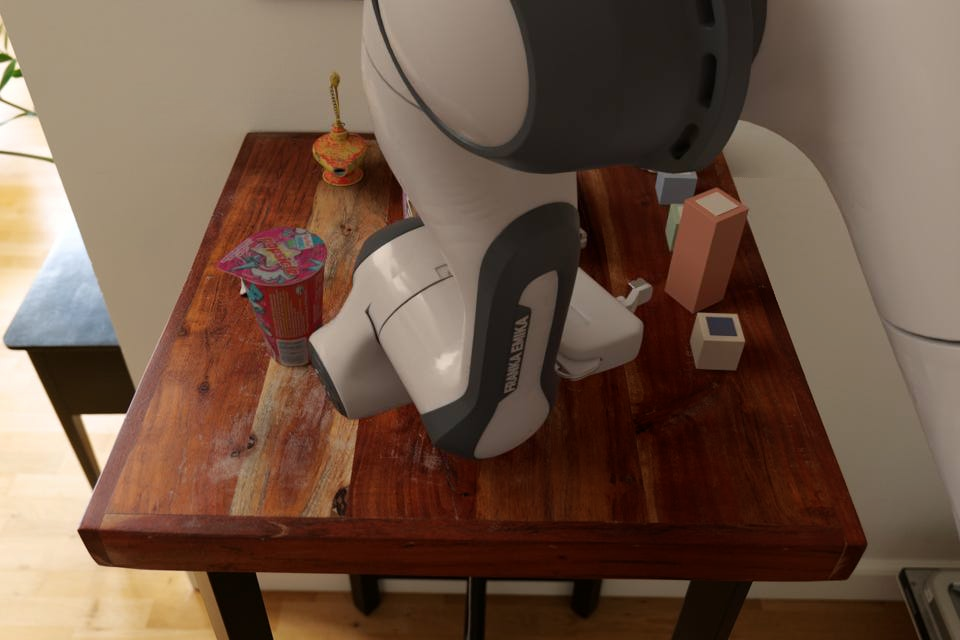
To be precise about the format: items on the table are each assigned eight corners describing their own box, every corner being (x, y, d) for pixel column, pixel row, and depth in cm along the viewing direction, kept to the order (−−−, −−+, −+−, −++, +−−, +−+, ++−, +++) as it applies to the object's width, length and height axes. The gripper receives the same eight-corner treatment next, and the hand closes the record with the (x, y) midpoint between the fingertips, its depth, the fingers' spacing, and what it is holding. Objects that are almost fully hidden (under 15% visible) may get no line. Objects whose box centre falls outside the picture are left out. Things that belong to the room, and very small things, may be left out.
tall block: (723, 299, 93) (749, 207, 85) (692, 314, 91) (717, 221, 83) (694, 277, 96) (717, 186, 87) (664, 291, 94) (684, 198, 86)
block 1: (691, 206, 106) (697, 177, 103) (659, 204, 106) (664, 176, 103) (686, 187, 109) (692, 160, 106) (655, 186, 109) (660, 158, 106)
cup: (305, 308, 90) (291, 215, 82) (355, 350, 86) (345, 255, 78) (228, 351, 85) (204, 256, 77) (277, 397, 81) (258, 301, 73)
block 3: (736, 370, 85) (745, 340, 82) (695, 369, 85) (704, 339, 82) (728, 342, 88) (737, 313, 85) (689, 341, 88) (697, 311, 85)
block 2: (704, 253, 99) (711, 224, 96) (669, 251, 99) (676, 223, 96) (698, 232, 102) (705, 203, 99) (665, 231, 102) (671, 202, 99)
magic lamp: (315, 226, 101) (305, 144, 93) (315, 146, 114) (306, 69, 106) (374, 222, 102) (368, 141, 94) (367, 143, 115) (361, 66, 107)
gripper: (566, 358, 66) (698, 296, 71) (430, 224, 78) (551, 180, 84) (559, 412, 70) (684, 350, 76) (431, 277, 82) (546, 232, 88)
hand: (613, 260), depth 80 cm, fingers open, 8 cm apart
